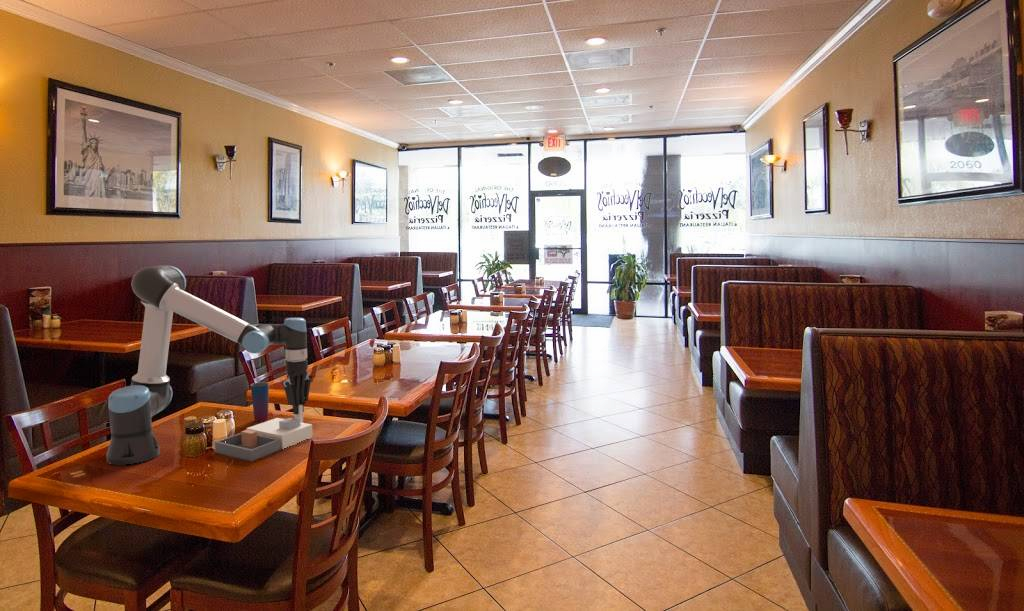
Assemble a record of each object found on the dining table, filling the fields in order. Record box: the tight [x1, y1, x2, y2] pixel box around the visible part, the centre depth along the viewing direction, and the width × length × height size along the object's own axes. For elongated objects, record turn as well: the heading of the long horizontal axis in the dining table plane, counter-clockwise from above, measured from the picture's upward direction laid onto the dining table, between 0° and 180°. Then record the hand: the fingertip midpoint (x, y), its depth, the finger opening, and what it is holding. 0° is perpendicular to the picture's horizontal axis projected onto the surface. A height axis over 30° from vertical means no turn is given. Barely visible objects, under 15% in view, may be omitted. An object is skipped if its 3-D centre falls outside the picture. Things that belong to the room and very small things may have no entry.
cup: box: [250, 381, 270, 422], centre depth 238 cm, size 7×7×15 cm
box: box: [214, 432, 282, 463], centre depth 203 cm, size 18×12×4 cm, turn 64°
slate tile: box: [279, 417, 300, 430], centre depth 214 cm, size 5×5×2 cm
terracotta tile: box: [240, 429, 257, 447], centre depth 208 cm, size 5×5×2 cm
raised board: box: [246, 417, 314, 450], centre depth 216 cm, size 18×14×5 cm
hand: (298, 421), depth 219 cm, fingers closed
